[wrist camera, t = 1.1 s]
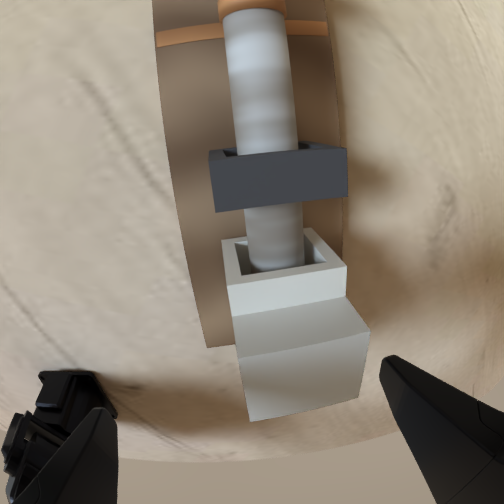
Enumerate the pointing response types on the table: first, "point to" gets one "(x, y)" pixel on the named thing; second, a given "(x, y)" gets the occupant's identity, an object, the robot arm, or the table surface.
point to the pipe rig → (243, 129)
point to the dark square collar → (277, 176)
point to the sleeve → (294, 331)
